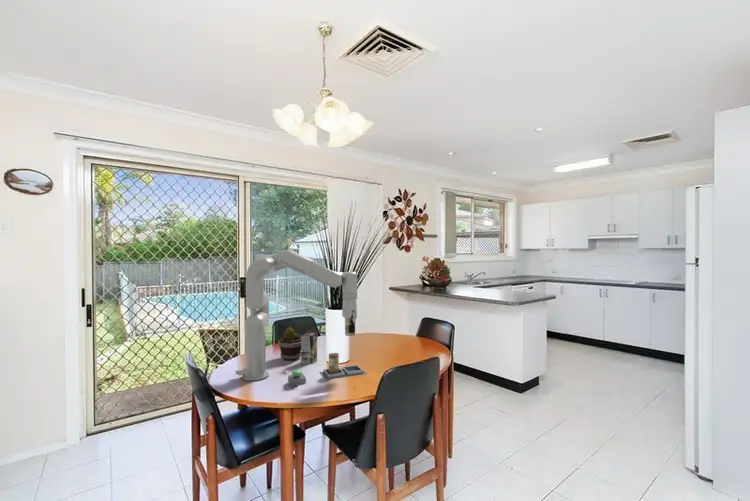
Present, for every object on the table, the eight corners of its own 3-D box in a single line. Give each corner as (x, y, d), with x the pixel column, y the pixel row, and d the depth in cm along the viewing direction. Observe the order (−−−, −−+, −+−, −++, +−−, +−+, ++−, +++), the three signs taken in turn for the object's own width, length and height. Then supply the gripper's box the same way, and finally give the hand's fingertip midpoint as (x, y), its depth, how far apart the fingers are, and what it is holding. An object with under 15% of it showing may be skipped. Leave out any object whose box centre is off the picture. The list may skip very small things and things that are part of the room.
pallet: (325, 382, 174) (325, 376, 174) (318, 374, 185) (318, 369, 185) (367, 376, 182) (367, 370, 182) (359, 369, 193) (359, 363, 193)
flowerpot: (282, 354, 220) (282, 321, 220) (307, 355, 218) (307, 322, 218) (273, 361, 205) (273, 326, 205) (300, 362, 204) (300, 327, 204)
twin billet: (330, 376, 178) (330, 355, 178) (327, 373, 183) (327, 352, 183) (340, 375, 180) (340, 354, 180) (336, 372, 185) (337, 351, 185)
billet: (347, 336, 182) (347, 315, 182) (343, 334, 187) (343, 314, 187) (356, 335, 184) (356, 315, 184) (353, 333, 189) (352, 313, 189)
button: (293, 381, 168) (293, 373, 168) (291, 378, 172) (291, 370, 172) (302, 380, 170) (302, 372, 170) (300, 377, 174) (300, 369, 174)
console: (290, 387, 167) (290, 380, 167) (288, 382, 173) (288, 375, 173) (305, 385, 169) (305, 378, 169) (302, 380, 176) (302, 373, 176)
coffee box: (311, 365, 199) (311, 336, 199) (300, 364, 200) (300, 335, 200) (317, 360, 208) (317, 332, 208) (307, 359, 209) (307, 332, 209)
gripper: (337, 294, 192) (337, 328, 192) (348, 298, 176) (348, 335, 176) (351, 293, 195) (351, 327, 195) (362, 297, 179) (363, 334, 179)
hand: (350, 331), depth 185 cm, fingers closed on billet, 5 cm apart
